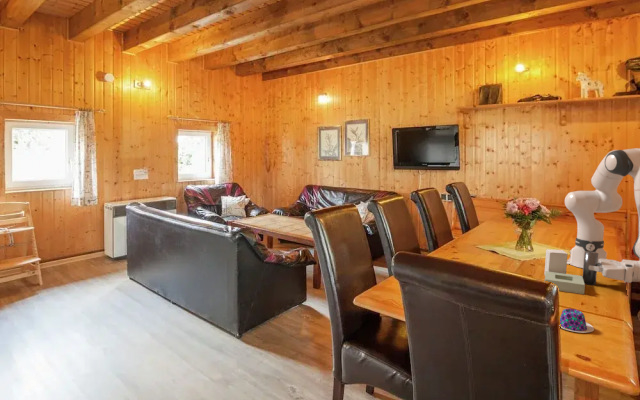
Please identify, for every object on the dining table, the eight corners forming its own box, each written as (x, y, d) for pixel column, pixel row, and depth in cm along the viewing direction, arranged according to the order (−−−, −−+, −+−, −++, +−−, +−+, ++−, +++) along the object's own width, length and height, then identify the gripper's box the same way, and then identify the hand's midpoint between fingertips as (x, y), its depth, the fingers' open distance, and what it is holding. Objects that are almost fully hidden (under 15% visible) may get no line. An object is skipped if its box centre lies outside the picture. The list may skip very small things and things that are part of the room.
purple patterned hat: (553, 330, 127) (554, 314, 126) (549, 316, 138) (550, 302, 137) (597, 337, 122) (599, 321, 121) (589, 322, 133) (591, 308, 132)
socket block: (544, 279, 179) (545, 271, 178) (581, 284, 172) (582, 275, 171) (544, 288, 166) (545, 279, 166) (584, 294, 160) (584, 284, 159)
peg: (581, 281, 177) (584, 250, 175) (595, 282, 174) (597, 252, 173) (582, 284, 173) (585, 253, 171) (596, 285, 170) (599, 254, 169)
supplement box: (566, 280, 177) (568, 253, 176) (547, 279, 179) (549, 252, 178) (561, 276, 184) (563, 249, 183) (543, 274, 186) (545, 248, 185)
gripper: (623, 257, 175) (586, 253, 182) (632, 268, 157) (590, 263, 164) (622, 271, 176) (585, 266, 182) (630, 284, 158) (589, 278, 165)
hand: (587, 265), depth 173 cm, fingers closed on peg, 5 cm apart
